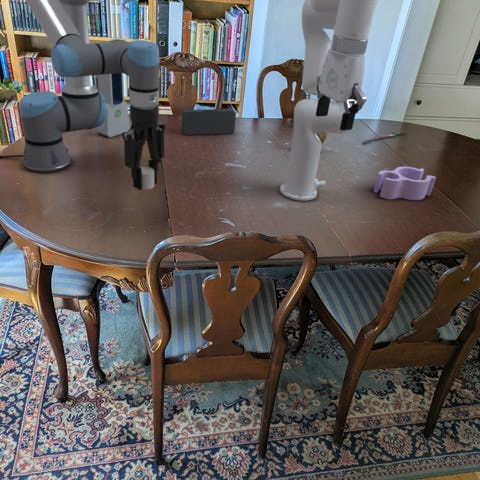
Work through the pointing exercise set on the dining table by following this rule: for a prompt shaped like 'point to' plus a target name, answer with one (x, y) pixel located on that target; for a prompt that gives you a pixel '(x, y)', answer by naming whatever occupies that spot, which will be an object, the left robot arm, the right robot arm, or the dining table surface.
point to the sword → (383, 137)
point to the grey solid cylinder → (147, 178)
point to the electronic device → (113, 105)
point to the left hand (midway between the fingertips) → (145, 184)
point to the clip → (404, 184)
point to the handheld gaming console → (208, 121)
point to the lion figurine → (322, 136)
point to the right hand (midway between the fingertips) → (333, 122)
